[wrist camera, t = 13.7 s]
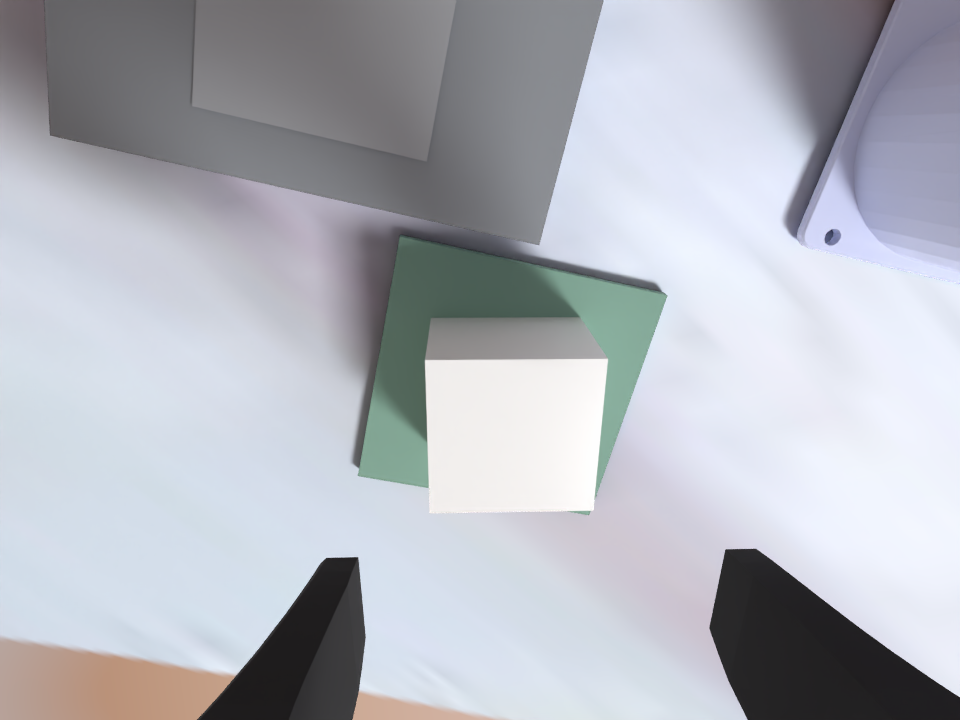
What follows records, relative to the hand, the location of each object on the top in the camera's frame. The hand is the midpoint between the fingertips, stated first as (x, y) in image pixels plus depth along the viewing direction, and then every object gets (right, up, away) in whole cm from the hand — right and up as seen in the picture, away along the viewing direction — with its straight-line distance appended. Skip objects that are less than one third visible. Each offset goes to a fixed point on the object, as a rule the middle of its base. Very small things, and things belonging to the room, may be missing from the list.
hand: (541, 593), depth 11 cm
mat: (0, +4, +9) cm, 10 cm away
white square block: (0, +4, +9) cm, 10 cm away
